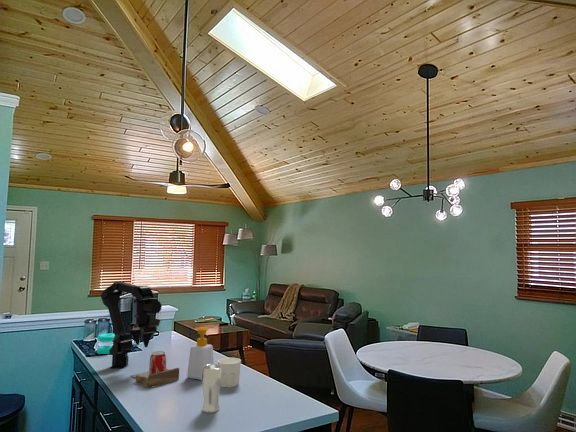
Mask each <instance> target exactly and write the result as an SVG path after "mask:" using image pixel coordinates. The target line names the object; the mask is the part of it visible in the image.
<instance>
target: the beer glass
mask: <svg viewBox="0 0 576 432" xmlns="http://www.w3.org/2000/svg"><path fill="white" fill-rule="evenodd" d="M201 386H202V396H203V403H202V409H201V410H202V412H203V413H206V414H212V413H213V414H214V413H216V412H218V411H219V410H220V403H219V397H220V391H221V366H220V365H218V364H215V363H214V364H210V365H205V366H203V372H202V380H201Z"/></svg>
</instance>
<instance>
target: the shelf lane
mask: <svg viewBox="0 0 576 432" xmlns="http://www.w3.org/2000/svg"><path fill="white" fill-rule="evenodd" d="M179 379H180V368H179V367H175V368H171V369H169V368H166V371H162V372H158V373H154V374H150V375H148V378H146V377H144V376H141V375H136V378H135V383H137V384H140V386H141V385H142V386H144V387H146V388H150V389H151V388H154V387H157V386H161V385H165V384H168V383H169V384H170V383H172V382H176V381H179Z"/></svg>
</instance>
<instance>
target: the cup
mask: <svg viewBox="0 0 576 432" xmlns="http://www.w3.org/2000/svg"><path fill="white" fill-rule="evenodd" d="M241 364H242V359H240V358H237V357H223V358H219V359H218V360H217V365H220V366H221V387H222V388H223V387H224V388H233V387H234V388H235V387H236V386H238V385H239V384H240V376H241V374H240V373H241ZM221 387H220V388H221Z"/></svg>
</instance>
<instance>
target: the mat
mask: <svg viewBox="0 0 576 432" xmlns="http://www.w3.org/2000/svg"><path fill="white" fill-rule="evenodd" d="M136 375H141V376H144V377H146V378H148V375H149V371H143V372H140V373H135V374H131V375H130V377H131V378H134V379H136Z"/></svg>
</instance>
